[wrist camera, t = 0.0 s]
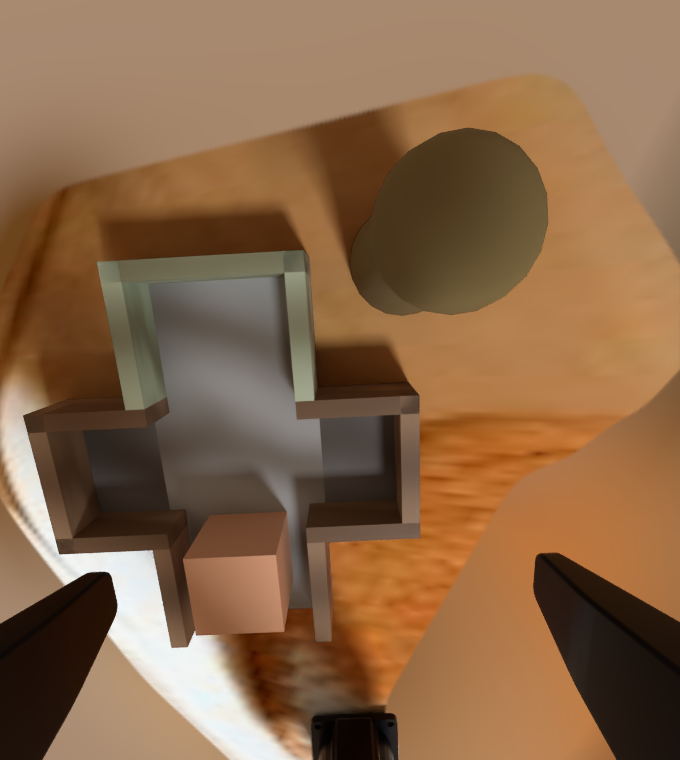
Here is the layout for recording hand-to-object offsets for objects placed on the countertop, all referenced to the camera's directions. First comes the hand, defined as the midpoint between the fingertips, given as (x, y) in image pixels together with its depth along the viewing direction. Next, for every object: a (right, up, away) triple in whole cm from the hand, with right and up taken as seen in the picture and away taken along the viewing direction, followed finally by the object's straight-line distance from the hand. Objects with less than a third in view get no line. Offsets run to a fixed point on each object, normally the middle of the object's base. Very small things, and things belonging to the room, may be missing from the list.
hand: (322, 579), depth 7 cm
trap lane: (-6, -1, +15) cm, 16 cm away
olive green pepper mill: (+4, +11, +13) cm, 17 cm away
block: (-5, -7, +16) cm, 18 cm away
